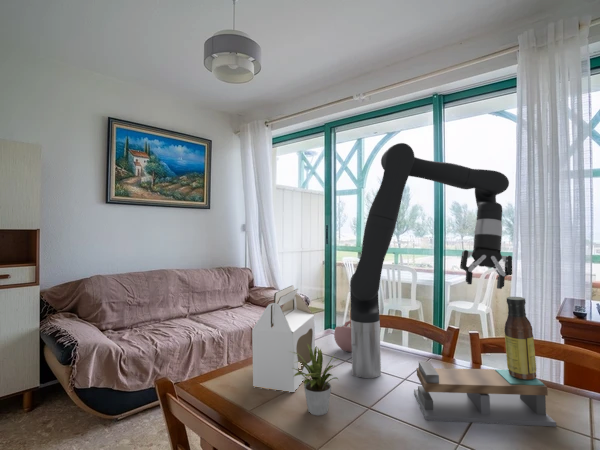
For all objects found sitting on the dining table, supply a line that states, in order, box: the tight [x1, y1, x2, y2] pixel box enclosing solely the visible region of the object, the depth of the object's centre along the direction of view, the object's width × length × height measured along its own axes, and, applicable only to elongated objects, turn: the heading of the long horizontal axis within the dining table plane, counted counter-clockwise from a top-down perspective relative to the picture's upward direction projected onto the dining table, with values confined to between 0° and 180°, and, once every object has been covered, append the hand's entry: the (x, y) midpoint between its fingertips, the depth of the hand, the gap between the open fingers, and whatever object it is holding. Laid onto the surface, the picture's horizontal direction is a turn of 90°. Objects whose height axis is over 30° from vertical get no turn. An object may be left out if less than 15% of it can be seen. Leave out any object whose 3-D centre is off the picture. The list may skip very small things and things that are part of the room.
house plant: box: [292, 344, 339, 416], centre depth 89 cm, size 14×14×16 cm
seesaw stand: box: [413, 385, 557, 427], centre depth 87 cm, size 29×14×6 cm, turn 82°
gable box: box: [251, 285, 316, 393], centre depth 110 cm, size 22×13×28 cm, turn 161°
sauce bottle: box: [504, 296, 537, 380], centre depth 86 cm, size 7×6×20 cm
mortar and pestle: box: [333, 319, 352, 353], centre depth 131 cm, size 12×12×12 cm
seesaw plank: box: [416, 360, 549, 396], centre depth 87 cm, size 28×10×4 cm, turn 82°
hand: (484, 286), depth 105 cm, fingers open, 8 cm apart
